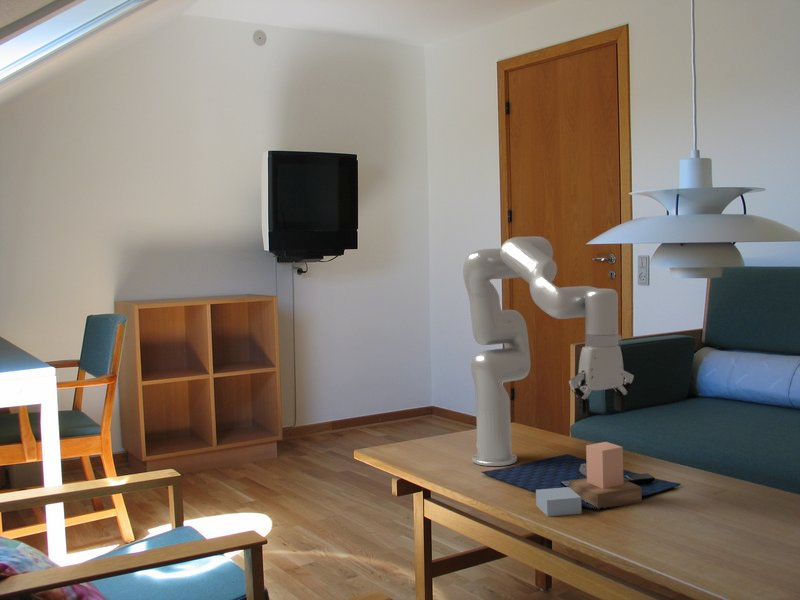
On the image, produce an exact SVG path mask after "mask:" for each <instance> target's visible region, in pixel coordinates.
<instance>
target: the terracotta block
mask: <svg viewBox="0 0 800 600" xmlns="http://www.w3.org/2000/svg"><path fill="white" fill-rule="evenodd" d="M623 449H624V448H623V446H620V445H617V444H614V443H611V442H608V441H603V442H598V443H593V444H592V443H591V444H586V445H585V454H586V462H585V463H587V476H586V478H587V482H588V483H590V484H593V485H595V486H598V487H600V488H603V489H604V488H609V487H614V486H619V485H623V484H624V483H623V479H624V450H623Z"/></svg>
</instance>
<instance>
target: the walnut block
mask: <svg viewBox="0 0 800 600" xmlns="http://www.w3.org/2000/svg"><path fill="white" fill-rule="evenodd" d="M568 483H569V486H568V487H569V488H570V489H572V490H573V491H574V492H575V493H577V494H578V495H579V496H580V497H581V500H584V501H585V502H588V503H590V504H592V505H594V506H596V507H597V508H598V509H597V510H600V509H599V508H602V507H603V509H608V508H607V507H609V508H615V507H620V506H626V505H632V504H637V503H642V501H643V499H642V494H643V493H642V492H643V489H642V486H640V485H637V484H635V483H633V482H631V481H628V480H626V479H624V478H623V483H624V484H623V485H619V486H614V487H609V488H604V489H603V488H600V487H598V486H595V485H593V484H590V483H588V482H587V477H585V478H578V479H572V480H569V481H568Z"/></svg>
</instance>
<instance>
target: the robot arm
mask: <svg viewBox="0 0 800 600" xmlns="http://www.w3.org/2000/svg"><path fill="white" fill-rule="evenodd" d="M552 246H553V245H552V244H551V242H550V241H549V240H548V239H546V238H545V237H543V236H537V235H536V236H515V237H514V236H513V237H511V238H508V239H507V240H505V241H504V242H503V243H502V245H501V246H500V248H483V249H478V250H475V251H473V252H471V253H469V255H468V256H467V257H466V259H465V261H464V263H463V269H462V275H463V281H464V284H465V288H466V291H467V295H468V301H469V309H470V319H471V329H472V334H473V339H474V340H475V342H476V343H477V344H479V345H482V346H491V345H492V346H494V345H504V348H495V349H487V350H483V351H480V352H478V353H477V354H475V356H473V358H472V360H471V365H470V369H471V375H472V379H473V384H474V391H475V392H474V394H475V410H476V411H475V413H476V443H475V447H476V448H477V453H475V454H473V455H472V457H471V459H472V460H471V461H472V462H473V463H474V464H477V465H478V466H479V465H480V466H485V467H502V466H503V467H504V466H509V465H513V464H515V463H516V462H517V461H518V457H517V455H516V454H515V453H512V440H511V439H512V436H511V435H512V432H511V431H512V430H511V400H510V395H509V393H508V392H507V390H506V388H505V387H504V385H503V384H504V383H507V382H514V381H515V382H516V381H520V380H523V379H525V378H526V377H527V376H528V375H529V373H530V371H531V370H530V369H531V352H530V344H529V335H528V334H529V333H528V327H527V324H526V323H527V322H526V320H525V318H524V317H523V315H522V314H521V313H520V312H519V311H518V310H515V309H502V308H501V304H500V303H501V302H500V301H501V300H500V296H499V292H498V290H497V289H496V286H495V285H494V284H493V283H492V282H491V280H503V279H504V280H505V279H515V278H516V279H517V278H521V279H523V280H524V281H525V282H526V283H528V284H529V292H530V295H531V299H532V300H533V302H534V303H535V305H536V306H537V307H538V308H539V309H541V310H542V311H543V312H544V313H545V314H548V316H550V317H552V318H555V319H557V320H567V319H574V318H585V319H584V320H585V323H584V325H585V326H584V328H585V331H584V333H585V334H584V337H585V340H584V341H585V342H584V345H585V346H582V348H581V350H580V356H579V362H578V373H577V374H576V375H575V376H574V377H572V378H571V379H569V381H568V384H569V387H570V388H571V391H572V393H574V395H576V396H575V397H577V398H578V411H579V414H580V415H581V416H585V417H589V416H590V399H589V398H588V397H589V396H590V394H591V393H592V391H603V390H612V389H613V390H614V391H615V392H614V394H613V409H614V410H615V411H618V412H620V413H623V412H625V405H626V403H625V401H626V396H625V395H627V394H628V391H629V389H630V388H631V386H632V383H633V381H634V377H635V375H634V374H632V373H630V372H629V371H626V370H624V360H623V353H622V349H621V346H620V345H619V341H622V339H623V336H622V335H621V334H619V294H618V292H617V290H615V289H613V288H605V287H603V288H602V287H601V288H599V287H595V286H592V285H591V286H590V285H580V286H578V285H577V286H565V287H559V286H557V285H556V284H554V283H553V282H554V280H555V279H556V275H557V272H558V266H557V263H556V261H555V260H554V259H553V256H554V249H553V247H552Z"/></svg>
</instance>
